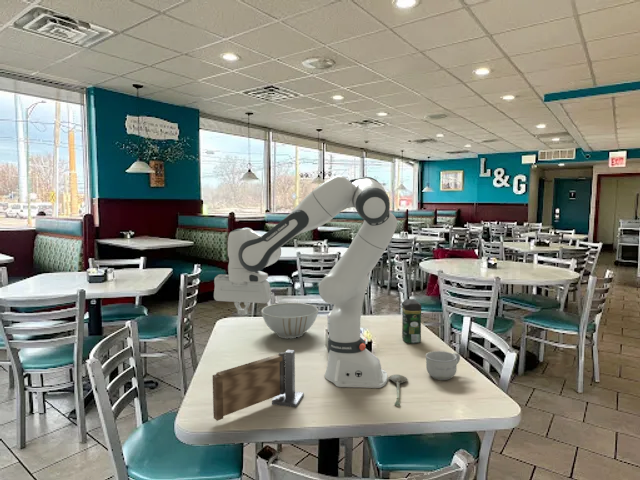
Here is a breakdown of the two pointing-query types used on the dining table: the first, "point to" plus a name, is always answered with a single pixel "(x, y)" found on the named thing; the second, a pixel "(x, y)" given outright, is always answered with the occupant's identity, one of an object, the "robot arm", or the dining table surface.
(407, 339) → the coffee jar
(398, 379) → the soupspoon
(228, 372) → the gate
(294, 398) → the gate post
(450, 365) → the teacup
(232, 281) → the robot arm
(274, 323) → the decorative bowl
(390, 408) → the dining table surface
